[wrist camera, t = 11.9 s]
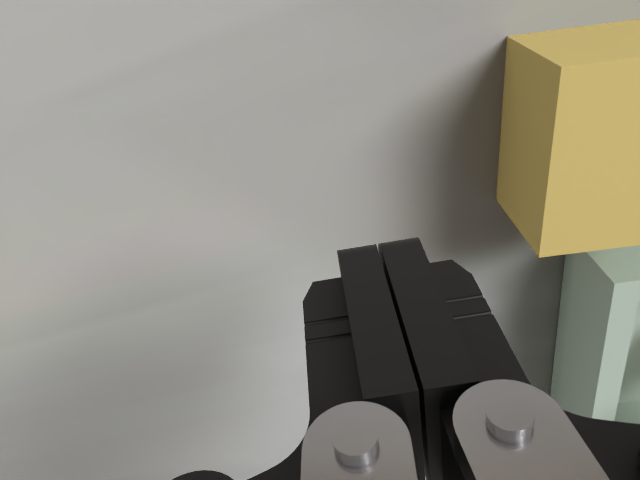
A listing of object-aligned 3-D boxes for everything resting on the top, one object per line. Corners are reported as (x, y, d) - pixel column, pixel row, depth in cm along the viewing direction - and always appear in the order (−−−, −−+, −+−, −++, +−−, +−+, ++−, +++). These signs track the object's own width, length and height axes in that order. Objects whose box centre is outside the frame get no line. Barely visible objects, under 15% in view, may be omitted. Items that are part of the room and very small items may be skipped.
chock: (637, 17, 15) (727, 45, 12) (607, 183, 17) (673, 240, 14) (505, 35, 15) (561, 66, 12) (494, 197, 17) (539, 257, 14)
